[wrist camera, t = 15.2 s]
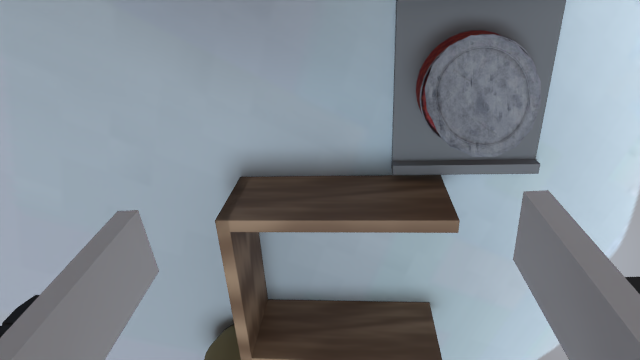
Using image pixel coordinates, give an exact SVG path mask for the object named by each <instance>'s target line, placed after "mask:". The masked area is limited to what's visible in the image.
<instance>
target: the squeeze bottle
mask: <svg viewBox="0 0 640 360" xmlns="http://www.w3.org/2000/svg"><path fill="white" fill-rule="evenodd" d="M204 360H241V357H240V352H239V346H238V341H237V336H236V330H235V325H232V326H230V327H228V328H227V329H225V330H224V331H223V333H222V334H221V335H220V336H219V337H218V338H217V339H216V340H215V341H214V342H213V343H212V345H211V346H210V347H209V349H208V351H207V352H206V355H205V359H204Z"/></svg>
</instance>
